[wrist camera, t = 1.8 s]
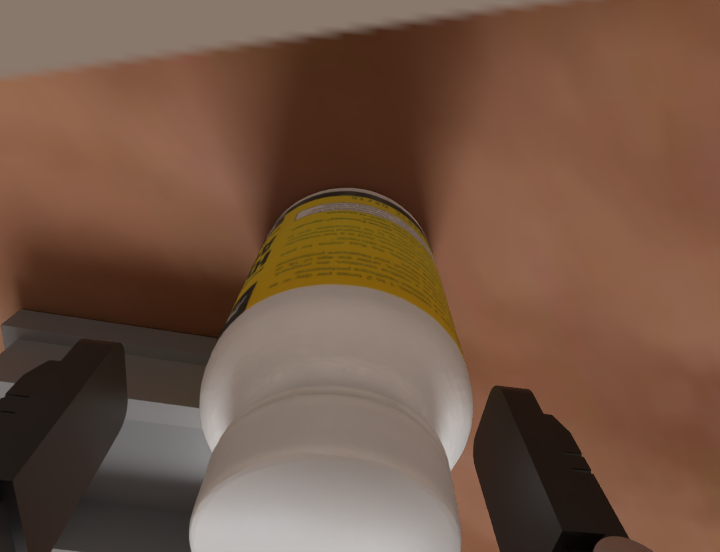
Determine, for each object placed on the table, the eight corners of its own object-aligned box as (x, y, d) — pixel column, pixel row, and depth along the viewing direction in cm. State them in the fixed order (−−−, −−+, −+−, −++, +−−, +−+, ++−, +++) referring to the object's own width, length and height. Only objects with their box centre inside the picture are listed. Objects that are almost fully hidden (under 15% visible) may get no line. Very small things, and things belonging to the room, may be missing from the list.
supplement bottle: (260, 176, 15) (110, 392, 6) (442, 190, 15) (563, 419, 6) (262, 331, 17) (158, 651, 8) (419, 341, 17) (481, 664, 8)
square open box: (287, 348, 17) (274, 406, 15) (264, 520, 21) (249, 591, 18) (20, 309, 17) (-46, 362, 14) (47, 494, 20) (-1, 564, 18)
